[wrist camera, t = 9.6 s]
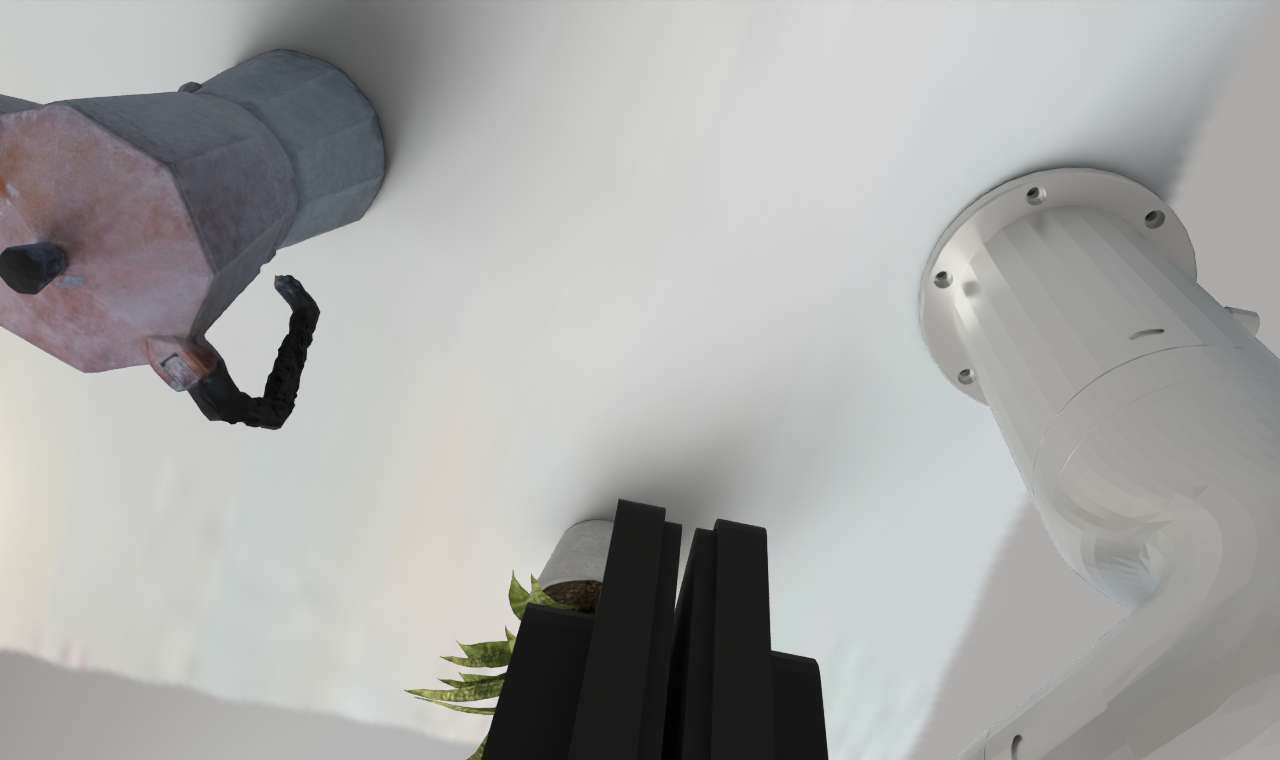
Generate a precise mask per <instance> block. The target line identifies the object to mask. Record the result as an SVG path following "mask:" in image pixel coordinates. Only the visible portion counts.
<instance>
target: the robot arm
mask: <svg viewBox="0 0 1280 760" xmlns="http://www.w3.org/2000/svg"><path fill="white" fill-rule="evenodd" d="M1034 187H1036V188H1037V189H1036V192H1035V194H1033V195H1027V193H1028V192H1029V190H1030V189H1032V188H1034ZM1152 211H1153V214H1152V215H1151V217H1149V218H1145V217H1146V216H1147V215H1148V213H1150V212H1152ZM942 271H945V275H944V276H942V277H936V275H937V274H938V273H940V272H942ZM1196 281H1197V269H1196V261H1195V252H1194V249H1193V247H1192V244H1191V241H1190V238H1189V236H1188V233H1187V230H1186V229H1185V227H1184V226H1183V224H1182V223H1181V221H1180V220H1179V218H1178V217H1177V216H1176V214H1175V213H1174V211H1173V210H1172V209H1171V208H1170V207H1169V206H1168V205H1167V204H1165V203H1164V202H1163V201H1162V200H1161V199H1160V198H1159V197H1158V196H1156V195H1155V194H1154V193H1152V192H1151V191H1149V190H1148V189H1147V188H1145V187H1144V186H1142V185H1141V184H1139V183H1138V182H1135V181H1133V180H1131V179H1128V178H1126V177H1123V176H1121V175H1119V174H1116V173H1113V172H1107V171H1102V170H1097V169H1092V168H1058V169H1052V170H1046V171H1040V172H1034V173H1032V174H1029V175H1026V176H1023V177H1020V178H1017V179H1015V180H1012V181H1009V182H1007V183H1005V184H1003V185H1001V186H999V187H998V188H996V189H994V190H992V191H990V192H989V193H987V194H985V195H983V196H982V197H981V198H979V199H978V200H977V201H976V202H974V203H973V204H972V205H971V206H969V207H968V208H967V209H965V210H964V211H963V212H962V213H961V214H960V215H959V216H958V217H957V218H956V220H955V221H954V222H953V223H952V224H951V225H950V226H949V227H948V228H947V229H946V231H945V232H944V233H943V235H942V236H941V238H940V240H939V241H938V243H937V244H936V246H935V248H934V249H933V251H932V252H931V255H930V257H929V260H928V262H927V265H926V267H925V270H924V272H923V275H922V280H921V286H920V291H919V297H918V304H919V322H920V326H921V330H922V333H923V337H924V341H925V343H926V346H927V348H928V350H929V352H930V355H931V357H932V359H933V360H934V362H935V363H936V365H937V367H938V368H939V370H940V371H941V373H942V374H943V375H944V376H945V377H946V378H947V379H948V380H949V381H950V382H951V383H952V384H953V386H955V387H956V388H957V389H958V390H960V391H961V392H963V393H964V394H966V395H968V396H969V397H971V398H972V399H974V400H975V401H977V402H980V403H982V404H985V405H987V406H989V407H990V409H991V411H992V413H993V415H994V418H995V420H996V422H997V424H998V426H999V428H1000V431H1001V433H1002V435H1003V437H1004V439H1005V442H1006V444H1007V446H1008V448H1009V450H1010V453H1011V455H1012V457H1013V459H1014V461H1015V464H1016V466H1017V468H1018V470H1019V472H1020V475H1021V477H1022V479H1023V481H1024V483H1025V486H1026V488H1027V490H1028V492H1029V494H1030V497H1031V499H1032V501H1033V503H1034V505H1035V507H1036V510H1037V512H1038V514H1039V516H1040V517H1041V519H1042V521H1043V524H1044V526H1045V528H1046V530H1047V532H1048V534H1049V536H1050V538H1051V540H1052V542H1053V544H1054V545H1055V547H1056V549H1057V550H1058V552H1059V553H1060V555H1061V556H1062V557H1063V559H1064V560H1065V562H1066V563H1067V564H1068V565H1069V566H1070V567H1071V568H1072V570H1073V571H1074V572H1075V573H1076V574H1077V575H1078V576H1079V577H1080V578H1081V579H1082V580H1083V581H1085V582H1086V583H1087V584H1088V585H1090V586H1091V587H1092V588H1094V589H1095V590H1097V591H1098V592H1100V593H1101V594H1102V595H1104V596H1105V597H1106V598H1108V599H1110V600H1111V601H1113V602H1115V603H1116V604H1118V605H1120V606H1122V607H1124V608H1126V609H1128V610H1131V611H1133V612H1132V613H1131V614H1130V615H1129V616H1127V617H1126V618H1125V619H1124V620H1122V621H1121V622H1120V623H1119V624H1117V625H1116V626H1115V627H1113V628H1112V629H1111V630H1110V631H1109V632H1107V633H1106V634H1104V635H1103V636H1102V637H1101V638H1100V639H1099V640H1098V641H1097V643H1096V645H1095V647H1093V648H1092V649H1091V650H1089V651H1088V652H1087V653H1085V654H1084V655H1083V656H1082V657H1080V658H1079V659H1078V660H1076V661H1075V662H1074V663H1073V664H1071V665H1070V666H1069V667H1067V668H1066V669H1065V670H1064V671H1062V672H1061V673H1060V674H1058V675H1057V676H1056V677H1055V678H1053V679H1052V680H1051V681H1049V682H1048V683H1047V684H1045V685H1044V686H1043V687H1042V688H1040V689H1039V690H1038V691H1037V692H1035V693H1034V694H1033V695H1031V696H1030V697H1029V698H1027V699H1026V700H1025V701H1024V702H1022V703H1021V704H1020V705H1019V706H1017V707H1016V708H1015V709H1013V710H1012V711H1011V712H1010V713H1008V714H1007V715H1006V716H1004V717H1003V718H1002V719H1001V720H999V721H998V722H996V723H995V724H994V725H993V726H991V727H990V728H989V729H988V730H986V731H985V732H984V733H982V734H981V735H980V736H979V737H977V738H976V739H975V740H974V741H973V742H972V743H971V744H969V745H968V746H967V747H966V748H965V749H964V750H963V751H962V752H960V754H958V755H957V756H956V757H955V758H954V759H953V760H1280V359H1279V358H1278V357H1276V356H1275V355H1274V354H1273V353H1272V352H1271V351H1270V350H1269V349H1268V348H1267V347H1266V346H1265V345H1263V344H1262V343H1261V342H1260V341H1259V340H1258V339H1257V338H1256V337H1255V334H1256V333H1257V331H1258V328H1259V316H1258V314H1257V313H1255V312H1251V311H1246V310H1241V309H1236V308H1231V307H1222V306H1221V305H1220V304H1219V303H1218V302H1217V301H1216V300H1215V299H1214V298H1213V297H1212V296H1211V295H1210V294H1208V293H1207V292H1206V291H1205V290H1204V289H1203V288H1202V287H1201V286H1200V285H1199V284H1198V283H1196ZM965 369H968V370H967V371H966V372H962V373H961V371H963V370H965ZM665 512H666V509H665V508H662V507H657V506H652V505H647V504H642V503H637V502H632V501H627V500H622V499H619V501H618V506H617V511H616V516H615V521H614V526H613V531H612V536H611V541H610V546H609V551H608V556H607V561H606V566H605V571H604V576H603V581H602V586H601V591H600V596H599V601H598V606H597V611H596V616H595V615H590V614H585V613H580V612H575V611H570V610H565V609H560V608H555V607H550V606H545V605H540V604H535V603H530V602H528V603H527V605H526V608H525V611H524V614H523V617H522V621H521V624H520V627H519V631H518V634H517V638H516V641H515V644H514V648H513V651H512V655H511V658H510V662H509V665H508V668H507V672H506V675H505V679H504V682H503V686H502V689H501V692H500V696H499V699H498V703H497V706H496V709H495V713H494V716H493V720H492V723H491V727H490V730H489V733H488V737H487V740H486V744H485V747H484V750H483V754H482V757H481V760H828V750H827V740H826V729H825V719H824V709H823V698H822V688H821V677H820V671H819V666H818V663H817V662H816V660H815V659H813V658H808V657H803V656H798V655H792V654H787V653H782V652H777V651H772V650H771V636H770V609H769V581H768V553H767V533H766V529H765V528H763V527H758V526H753V525H748V524H743V523H738V522H733V521H728V520H723V519H717V520H716V523H715V525H714V529H713V531H711V530H706V529H701V528H696V530H695V533H694V537H693V541H692V545H691V549H690V553H689V557H688V561H687V565H686V569H685V573H684V577H683V581H682V585H681V589H680V593H679V597H678V601H677V605H676V609H675V600H676V589H677V578H678V567H679V556H680V545H681V534H682V525H681V524H676V523H671V522H666V521H665ZM674 611H675V613H674Z"/></svg>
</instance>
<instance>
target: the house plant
mask: <svg viewBox="0 0 1280 760" xmlns="http://www.w3.org/2000/svg"><path fill="white" fill-rule="evenodd" d="M613 526H614V523H613V522H610V521H605V520H590V521H584V522H581V523H579V524H576V525H574V526H573V527H571V528H570V529H568V530H567V531H566V532H565V534H564V535H563V536H562V538H561V539H560V541H559V543H558V544H557V546H556V548H555V550H554V552H553V553H552V555H551V557H550V559H549V561H548V562H547V564H546V566H545V568H544V569H543V571H542V573H541V575H540V577H539V578H538V580H536V579H535V578H534V577H533V576H532V574H531V583H532V591H531V593H530V594H529V593H528V592H527V591H526V590H525V589H523V588H522V587H521V586H520V584H519V583H518V581H517V580H516V578H515V577H514V571H513V575H512V581H511V586H510V590H509V600H510V605H511V608H512V610H513V612H514V614H515V615H516V616H517V617H518V619H519V620H521V621H522V617H523V614H524V611H525V608H526V605H527V603H528V602H530V603H535V604H540V605H545V606H550V607H555V608H560V609H565V610H570V611H575V612H580V613H585V614H590V615H595V616H596V611H597V606H598V601H599V596H600V591H601V586H602V581H603V576H604V571H605V566H606V561H607V556H608V551H609V546H610V541H611V536H612V531H613ZM505 631H506V636H507V639H508V641H499V642H484V643H478V644H474V645H461V644H460V643H459V642H458V644H459V645H460V647H461V648H462V650H463V651H464V652H465V654H466V655H467V656H468V657H469V658H459V657H453V656H452V657H442V658H444V659H446V660H448V661H451V662H453V663H455V664H458V665H462V666H466V667H489V668H494V667H503V666H506V665H509V662H510V658H511V655H512V651H513V648H514V644H515V641H516V637H515V636H514V635H513V634H511V633H510V632H509V631H508V630H507V629H506V625H505ZM440 657H441V656H440ZM459 674H460V675H461V677H462V678H463V679H464V681H465V682H460V681H454V680H440V679H439V680H440V681H442V682H444V683H446V684H449V685H451V686H453V687H455V688H459V689H455V690H447V691H445V690H428V689H420V690H409V691H406V690H405V691H406V692H409V693H411V694H415V695H419V696H422V697H426V698H430V699H435V700H442V701H452V702H464V701H476V700H482V699H488V698H493V697H497V696H500V692H501V689H502V686H503V682H504V679H505V675H506V673H503V674H500V675H498V676H482V675H472V674H461V673H460V672H459ZM437 679H438V678H437ZM415 698H418V697H415ZM418 699H422V700H426V701H429V702H433V703H436V704H439V705H443V706H445V707H448V708H451V709H453V710H456V711H461V712H466V713H475V714H483V715H494V713H495V709H496V707H495V708H470V707H461V706H456V705H451V704H446V703H442V702H438V701H433V700H429V699H423V698H418ZM488 733H489V732H488ZM487 737H488V734H487V736H486V737H485V739H484V740H483V742H482V744H481V745H480V747H479V748H478V750H477V751H476V753H475V754H473V755H472V756H471V757H470V758H468V759H467V760H481V757H482V754H483V750H484V747H485V744H486V740H487Z"/></svg>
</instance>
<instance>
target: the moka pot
mask: <svg viewBox="0 0 1280 760" xmlns="http://www.w3.org/2000/svg"><path fill="white" fill-rule="evenodd" d="M384 174H385V154H384V147H383V140H382V134H381V129H380V126H379V120H378V117H377V115H376V113H375V111H374V109H373V107H372V106H371V105H370V103H369V102H368V100H367V99H366V98H365V97H364V95H363V94H362V93H361V92H360V91H359V90H358V89H357V87H356V86H355V85H354V84H353V83H352V82H351V81H350V80H349V78H348V77H347V75H346V74H344V73H343V72H341V71H340V70H339V69H337V68H336V67H335V66H333V65H330V64H328V63H327V62H325V61H323V60H320V59H317V58H313V57H310V56H308V55H305V54H301V53H298V52H296V51H290V50H280V49H276V50H273V51H270V52H267V53H264V54H262V55H259V56H257V57H255V58H252V59H250V60H248V61H246V62H244V63H241V64H239V65H237V66H235V67H232V68H230V69H227V70H225V71H223V72H221V73H220V74H218V75H216V76H215V77H213V78H211V79H209V80H207V81H206V82H204V83H202V84H199V83H195V82H189V83H186V84H184V85H182V86H181V87H180V88H179V90H178V92H165V93H153V94H139V95H123V96H111V97H94V98H83V99H72V100H63V101H55V102H52V103H48V104H45V105H43V104H39V103H35V102H31V101H27V100H23V99H19V98H14V97H10V96H6V95H1V94H0V326H2V327H3V328H5V329H7V330H9V331H10V332H12V333H14V334H16V335H17V336H19V337H21V338H23V339H24V340H26V341H28V342H29V343H31V344H33V345H35V346H36V347H38V348H40V349H42V350H43V351H45V352H47V353H49V354H50V355H52V356H54V357H56V358H58V359H59V360H61V361H63V362H65V363H66V364H68V365H70V366H72V367H74V368H75V369H77V370H80V371H82V372H84V373H97V372H103V371H108V370H113V369H120V368H126V367H130V366H138V365H146V364H150V366H151V367H152V368H153V370H154V371H155V372H156V373H157V374H158V375H159V376H160V377H161V378H162V379H163V380H164V381H165V382H166V383H167V384H168V385H169V386H170V387H171V388H172V389H174V390H175V391H177V392H181V391H185V390H187V391H188V392H189V394H190V395H191V397H192V398H193V400H194V401H195V403H196V404H197V406H198V407H199V409H200V410H201V412H202V413H203V414H204V415H205V416H206V417H207V418H208V419H209V420H210V421H220V420H221V421H225V422H228V423H230V424H236V423H237V422H243V423H245V424H246V426H251V427H259V426H260V427H261V428H266V429H272V430H276V429H280V428H281V427H282V425H283V424H284V422H285V421H286V419H287V418H288V417H289V415H290V414H291V413H292V410H293V408H294V407H295V404H294V401H295V398H296V397H297V393H296V392H297V391H298V389H299V383H300V376H301V373H302V370H303V368H304V363H305V361H306V359H307V348H308V347H309V346H310V345H311V343H312V341H313V338H312V334H313V332H314V331H315V328H316V324H317V321H318V318H319V315H320V310H319V308H318V306H317V304H316V302H315V301H314V300H313V298H312V297H311V296H310V295H309V294H308V293H307V292H306V291H305V289H304V288H303V286H302V285H301V283H300V281H298V280H296V279H294V277H293V276H291V275H286V276H283V275H281V276H276V275H275V282H274V285H275V289H276V290H277V291H278V292H279V293H280V295H281V296H282V297H283V298H284V299H285V300H286V302H287V303H288V304H289V305H290V307H291V309H292V311H293V313H292V315H291V317H290V322H289V334H287V335H286V337H285V338H284V340H283V342H282V344H281V347H280V348H279V349H278V357H277V358H276V360H275V362H274V366H273V371H272V372H271V373H270V374H269V375H268V379H267V383H266V385H265V392H264V396H263V398H261V397H257V398H251V397H250V396H249V395H248V394H246V393H245V392H240V391H239V389H238V388H237V386H236V385H235V384H234V382H233V380H232V379H231V377H230V375H229V374H228V371H227V368H226V365H225V362H224V360H223V358H222V357H221V356H220V354H219V353H218V352H217V350H216V349H215V348H214V347H213V346H212V345H211V344H210V343H209V342H208V341H207V340H206V339H205V336H204V334H205V333H206V331H207V330H208V329H209V328H210V327H211V325H212V324H213V323H214V322H215V321H216V320H217V319H218V318H219V317H220V316H221V315H222V313H223V312H224V311H225V310H226V309H227V308H228V307H229V306H230V304H231V303H232V302H233V301H234V300H235V299H236V297H237V296H238V295H239V294H240V293H242V292H243V291H244V290H245V288H246V287H247V286H248V285H249V284H250V283H251V282H252V281H253V280H254V279H255V277H256V276H257V275H258V274H259V273H260V268H261V266H262V265H263V264H266V263H269V262H270V261H271V260H272V258H273V257H274V256H275V255H276V250H278V249H281V248H284V247H288V246H291V245H293V244H297V243H299V242H302V241H304V240H306V239H309V238H312V237H315V236H318V235H320V234H323V233H325V232H328V231H331V230H334V229H337V228H339V227H342V226H345V225H348V224H350V223H353V222H355V221H359V220H360V219H361V218H362V217H363V216H364V214H365V212H366V211H367V210H368V208H369V207H370V205H371V203H372V201H373V199H374V198H375V196H376V194H377V192H378V190H379V188H380V185H381V182H382V180H383V177H384Z"/></svg>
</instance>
